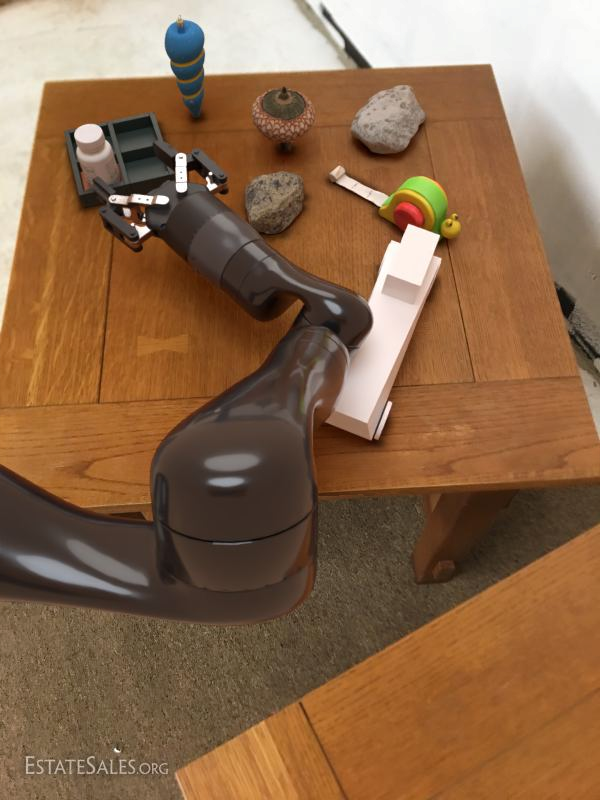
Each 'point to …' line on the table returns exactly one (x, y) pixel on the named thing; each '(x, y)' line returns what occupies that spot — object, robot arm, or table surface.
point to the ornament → (187, 61)
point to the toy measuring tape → (408, 203)
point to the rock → (273, 201)
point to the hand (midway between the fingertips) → (126, 165)
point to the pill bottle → (95, 155)
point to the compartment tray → (126, 157)
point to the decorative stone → (388, 120)
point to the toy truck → (387, 331)
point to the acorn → (283, 116)
